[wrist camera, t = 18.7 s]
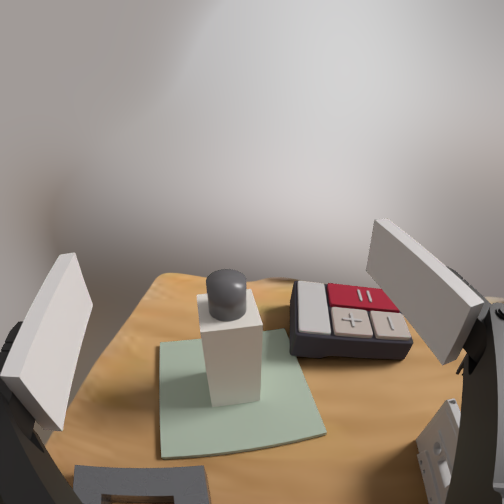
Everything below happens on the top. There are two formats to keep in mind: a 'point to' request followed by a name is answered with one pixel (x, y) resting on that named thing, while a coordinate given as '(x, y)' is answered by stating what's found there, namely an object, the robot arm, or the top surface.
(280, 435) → the mat
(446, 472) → the cassette
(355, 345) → the calculator
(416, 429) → the top surface
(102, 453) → the top surface
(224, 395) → the plug
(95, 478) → the socket
